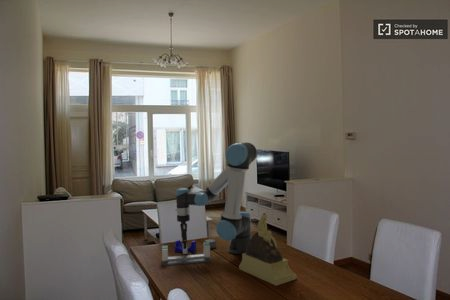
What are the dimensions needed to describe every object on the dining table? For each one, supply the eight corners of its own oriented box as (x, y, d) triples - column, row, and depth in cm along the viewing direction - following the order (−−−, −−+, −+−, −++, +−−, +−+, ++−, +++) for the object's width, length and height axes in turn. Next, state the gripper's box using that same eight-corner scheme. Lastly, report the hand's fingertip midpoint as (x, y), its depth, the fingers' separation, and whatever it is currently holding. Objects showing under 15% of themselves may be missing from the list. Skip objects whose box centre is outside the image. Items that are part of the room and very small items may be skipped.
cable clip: (174, 251, 232) (174, 241, 232) (178, 249, 236) (177, 239, 236) (193, 252, 228) (192, 242, 228) (196, 250, 233) (195, 240, 232)
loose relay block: (212, 245, 242) (211, 239, 242) (216, 247, 237) (215, 241, 237) (204, 246, 240) (204, 240, 240) (208, 249, 235) (208, 242, 235)
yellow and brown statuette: (296, 279, 181) (294, 215, 180) (275, 285, 174) (273, 219, 173) (258, 263, 205) (257, 207, 203) (239, 269, 197) (237, 211, 196)
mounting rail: (208, 255, 222) (208, 251, 222) (210, 261, 210) (210, 258, 210) (162, 258, 218) (162, 255, 218) (162, 265, 206) (162, 262, 206)
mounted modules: (208, 252, 220) (208, 241, 220) (210, 256, 213) (209, 244, 213) (162, 256, 216) (161, 245, 216) (162, 260, 209) (161, 248, 209)
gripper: (176, 211, 241) (177, 246, 242) (177, 218, 218) (179, 257, 219) (188, 210, 242) (189, 245, 243) (190, 217, 220) (192, 256, 220)
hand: (184, 251), depth 231 cm, fingers open, 10 cm apart
